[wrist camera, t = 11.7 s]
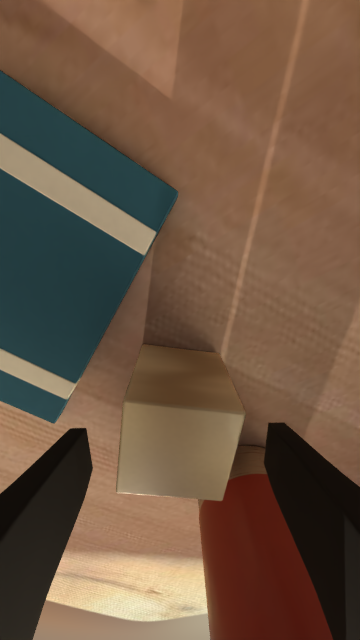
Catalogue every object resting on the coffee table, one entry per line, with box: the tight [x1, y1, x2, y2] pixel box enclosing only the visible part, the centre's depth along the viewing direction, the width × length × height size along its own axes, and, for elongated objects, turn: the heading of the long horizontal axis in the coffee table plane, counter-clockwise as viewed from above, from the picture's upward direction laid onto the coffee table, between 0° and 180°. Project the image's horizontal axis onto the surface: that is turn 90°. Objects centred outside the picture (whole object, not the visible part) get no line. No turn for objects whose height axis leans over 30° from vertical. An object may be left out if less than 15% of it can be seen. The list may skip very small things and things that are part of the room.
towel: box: [0, 70, 178, 423], centre depth 11 cm, size 8×14×1 cm, turn 149°
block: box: [116, 344, 246, 501], centre depth 11 cm, size 4×4×5 cm
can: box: [198, 445, 333, 640], centre depth 11 cm, size 6×6×10 cm
